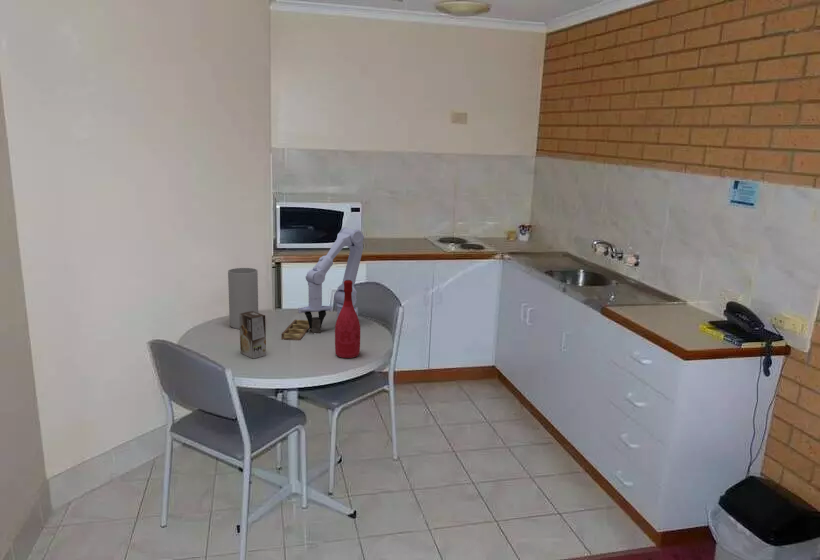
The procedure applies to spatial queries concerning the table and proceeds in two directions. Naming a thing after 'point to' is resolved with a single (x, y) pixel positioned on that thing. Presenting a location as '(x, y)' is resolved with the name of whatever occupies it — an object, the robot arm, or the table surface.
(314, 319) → the black box
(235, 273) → the cylinder vase
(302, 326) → the rack
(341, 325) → the wine bottle
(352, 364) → the table surface
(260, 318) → the coffee box
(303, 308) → the robot arm
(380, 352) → the table surface
